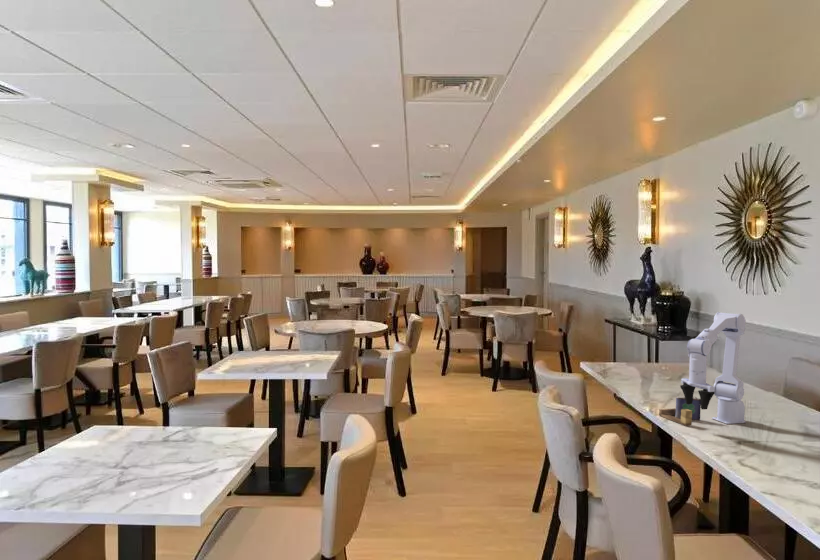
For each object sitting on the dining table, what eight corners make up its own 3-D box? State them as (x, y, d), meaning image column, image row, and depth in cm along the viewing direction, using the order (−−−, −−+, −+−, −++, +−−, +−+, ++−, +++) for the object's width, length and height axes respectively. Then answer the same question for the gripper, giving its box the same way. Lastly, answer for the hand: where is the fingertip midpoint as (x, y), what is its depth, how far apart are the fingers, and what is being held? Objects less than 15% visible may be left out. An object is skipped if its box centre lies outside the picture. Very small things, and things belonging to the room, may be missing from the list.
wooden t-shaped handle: (682, 413, 237) (683, 400, 236) (710, 424, 222) (711, 409, 222) (658, 415, 233) (659, 401, 233) (685, 426, 219) (686, 411, 219)
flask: (675, 419, 229) (676, 393, 229) (674, 417, 232) (675, 391, 232) (700, 421, 227) (701, 395, 226) (699, 419, 229) (700, 393, 229)
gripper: (675, 367, 217) (673, 402, 218) (703, 375, 203) (702, 412, 204) (690, 366, 219) (689, 401, 220) (719, 374, 205) (718, 411, 206)
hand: (696, 406), depth 212 cm, fingers open, 7 cm apart
